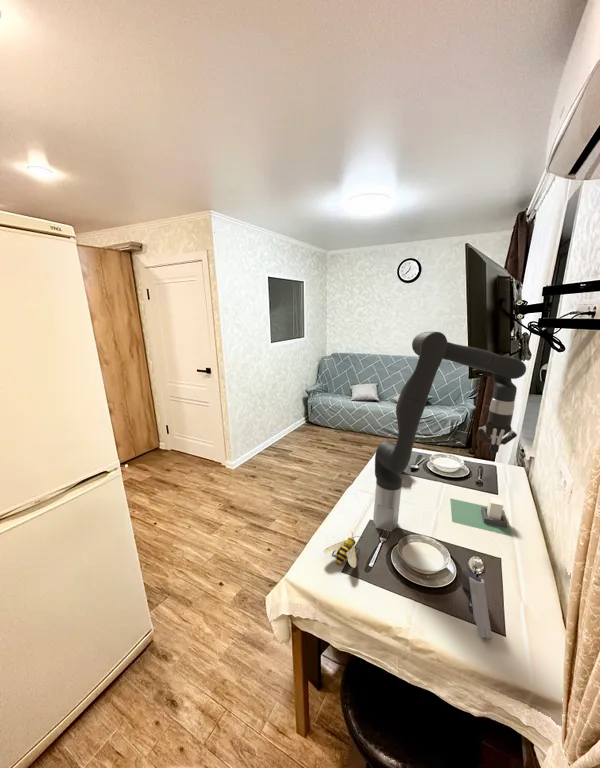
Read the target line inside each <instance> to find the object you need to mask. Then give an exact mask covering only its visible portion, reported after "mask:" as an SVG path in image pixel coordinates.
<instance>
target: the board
mask: <svg viewBox="0 0 600 768" xmlns="http://www.w3.org/2000/svg"><path fill="white" fill-rule="evenodd" d="M449 499H450V513H451V523H455V524H460V525H463V526H467V527H471V528H476V529H480V530H483V531H488V532H493V533H496V534H501V535H505V536H509V537H513V533H512V530H511V527H510V525H509V521H508V518H507V515H506V511H505V510H504V509H503V510H502V515H501V520H497V519H492V518H488V517H487V515H486V513H487V508H488V505H483V504H478V503H473V502H469V501H465V500H460V499H459V500H458V499H455V498H449Z"/></svg>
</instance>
